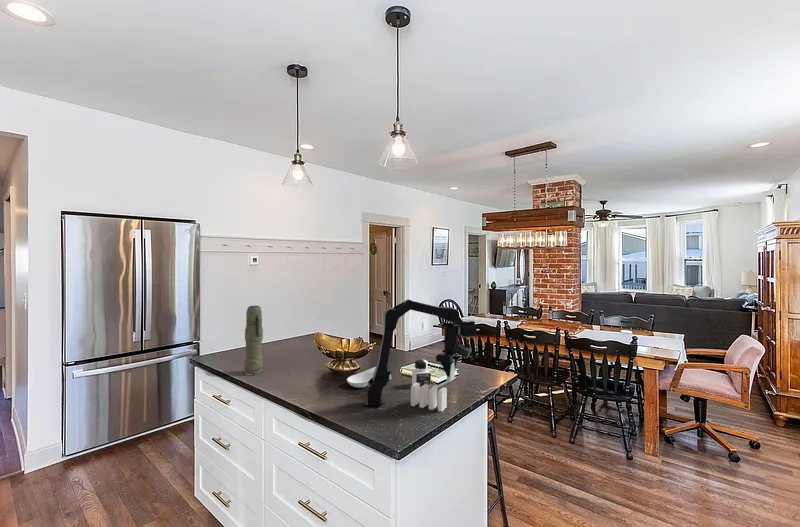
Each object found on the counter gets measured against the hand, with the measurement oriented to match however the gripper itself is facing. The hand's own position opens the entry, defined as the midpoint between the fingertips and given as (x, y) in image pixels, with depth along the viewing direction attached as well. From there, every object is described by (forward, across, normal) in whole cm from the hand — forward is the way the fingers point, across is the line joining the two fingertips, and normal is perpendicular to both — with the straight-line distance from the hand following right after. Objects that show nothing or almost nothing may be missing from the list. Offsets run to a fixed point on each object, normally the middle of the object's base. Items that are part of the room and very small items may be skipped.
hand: (450, 374), depth 161 cm
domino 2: (+12, -9, +8) cm, 17 cm away
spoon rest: (+12, +5, +43) cm, 45 cm away
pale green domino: (+2, 0, 0) cm, 2 cm away
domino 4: (+12, -9, 0) cm, 15 cm away
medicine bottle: (+12, +14, +20) cm, 27 cm away
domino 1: (+12, -9, +12) cm, 19 cm away
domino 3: (+12, -9, +4) cm, 15 cm away
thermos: (+12, -11, +105) cm, 106 cm away
